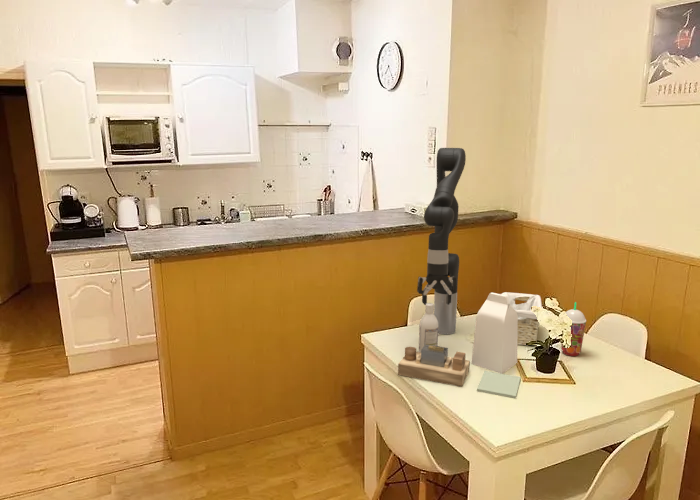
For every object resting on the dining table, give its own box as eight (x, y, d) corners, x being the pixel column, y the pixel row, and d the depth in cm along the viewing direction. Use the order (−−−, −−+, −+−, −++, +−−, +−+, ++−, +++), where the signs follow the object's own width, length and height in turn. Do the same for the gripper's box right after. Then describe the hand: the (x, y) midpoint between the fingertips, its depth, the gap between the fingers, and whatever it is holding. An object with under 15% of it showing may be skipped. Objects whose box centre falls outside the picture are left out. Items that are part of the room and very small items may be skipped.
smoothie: (558, 355, 192) (563, 304, 188) (558, 347, 200) (563, 297, 195) (583, 359, 189) (588, 307, 185) (582, 350, 197) (587, 300, 192)
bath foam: (441, 354, 194) (443, 304, 189) (428, 360, 189) (430, 308, 184) (427, 348, 199) (429, 299, 194) (414, 353, 195) (416, 303, 190)
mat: (484, 372, 179) (484, 370, 179) (520, 379, 175) (520, 376, 174) (476, 391, 167) (477, 388, 167) (515, 398, 162) (515, 396, 162)
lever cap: (424, 357, 182) (425, 342, 181) (447, 361, 179) (447, 346, 178) (420, 363, 178) (421, 348, 177) (443, 367, 175) (444, 351, 173)
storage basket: (499, 322, 226) (501, 290, 223) (538, 327, 221) (541, 294, 217) (495, 343, 204) (497, 308, 200) (539, 349, 199) (542, 312, 195)
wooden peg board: (408, 360, 189) (409, 340, 187) (469, 371, 180) (470, 350, 179) (398, 374, 178) (398, 353, 177) (462, 386, 170) (463, 364, 168)
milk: (471, 363, 186) (474, 294, 181) (486, 353, 195) (490, 287, 189) (502, 373, 178) (506, 302, 173) (517, 363, 187) (522, 294, 181)
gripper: (454, 259, 193) (452, 301, 196) (416, 259, 192) (415, 302, 195) (459, 263, 186) (458, 306, 189) (420, 263, 185) (419, 307, 187)
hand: (436, 304), depth 192 cm, fingers open, 8 cm apart
